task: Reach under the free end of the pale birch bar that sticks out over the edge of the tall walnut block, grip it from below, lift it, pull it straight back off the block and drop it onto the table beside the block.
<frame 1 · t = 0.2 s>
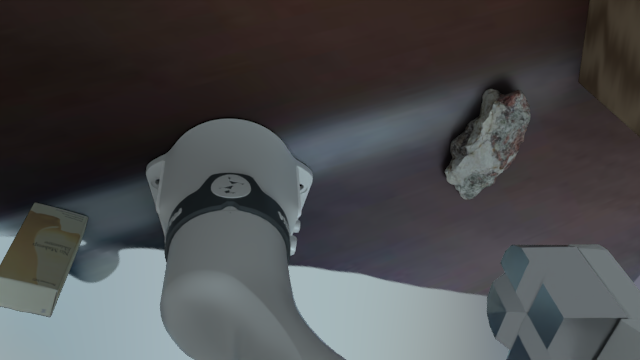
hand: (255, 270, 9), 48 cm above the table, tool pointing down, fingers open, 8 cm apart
walnut block: (633, 13, 59), on the table
mineral rock: (481, 137, 67), on the table
skincare box: (57, 220, 67), on the table
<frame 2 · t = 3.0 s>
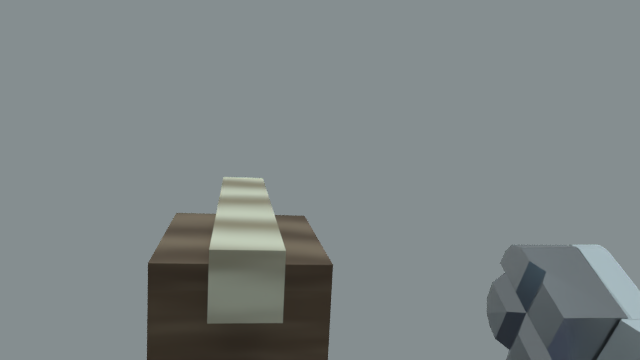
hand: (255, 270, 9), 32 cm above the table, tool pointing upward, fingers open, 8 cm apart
birch bar: (243, 252, 33), point 26 cm above the table, touching walnut block
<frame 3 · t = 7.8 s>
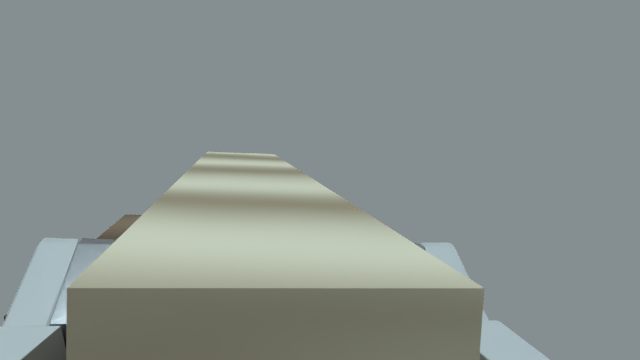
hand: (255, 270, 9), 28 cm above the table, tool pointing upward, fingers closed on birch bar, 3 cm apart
birch bar: (243, 283, 15), point 26 cm above the table, touching gripper, walnut block
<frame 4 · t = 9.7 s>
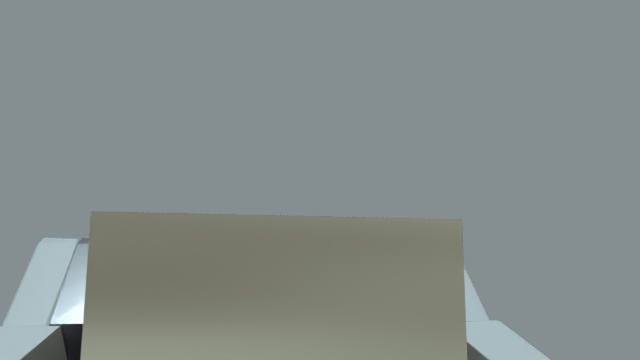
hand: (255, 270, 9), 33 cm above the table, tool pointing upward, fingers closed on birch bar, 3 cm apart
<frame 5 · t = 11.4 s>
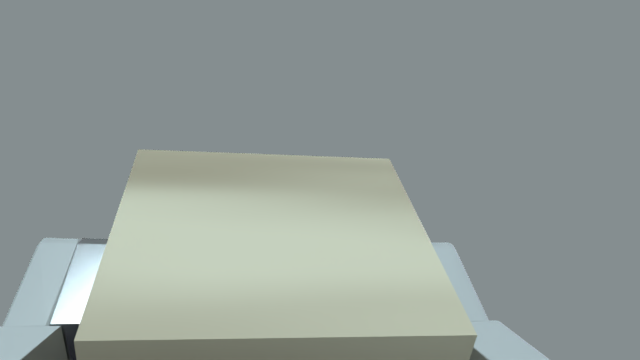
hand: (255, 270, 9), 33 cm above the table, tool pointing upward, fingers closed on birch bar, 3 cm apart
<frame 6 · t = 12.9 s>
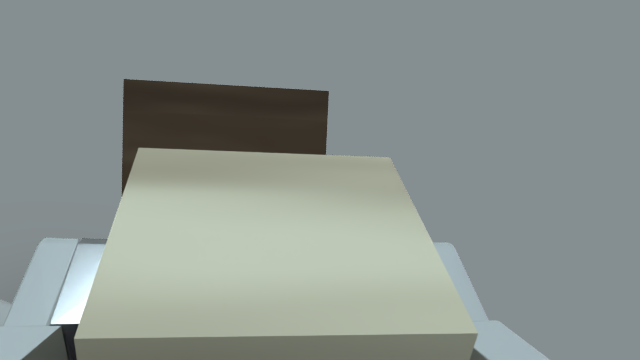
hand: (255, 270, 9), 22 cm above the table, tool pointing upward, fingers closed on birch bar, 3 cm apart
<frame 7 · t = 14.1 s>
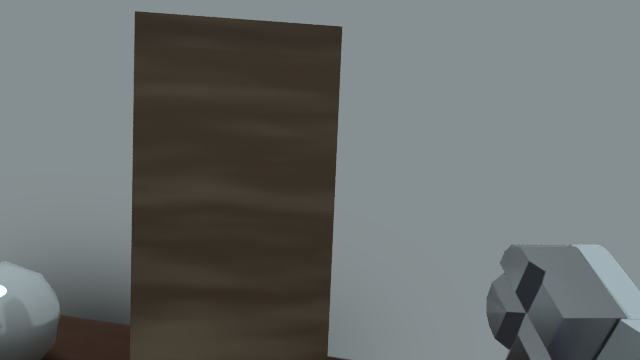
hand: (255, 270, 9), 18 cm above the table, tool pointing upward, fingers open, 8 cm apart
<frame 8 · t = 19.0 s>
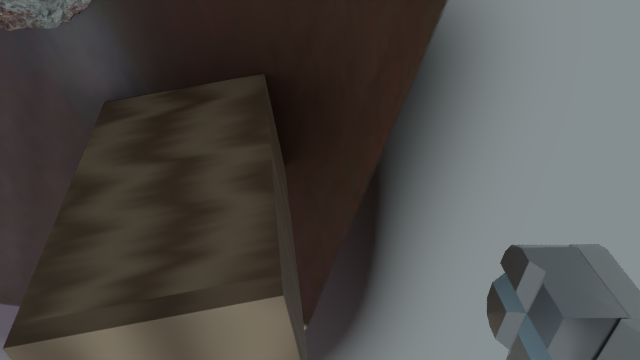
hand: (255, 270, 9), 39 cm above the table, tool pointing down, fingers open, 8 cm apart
walnut block: (199, 136, 52), on the table
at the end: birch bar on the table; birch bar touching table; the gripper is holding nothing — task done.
